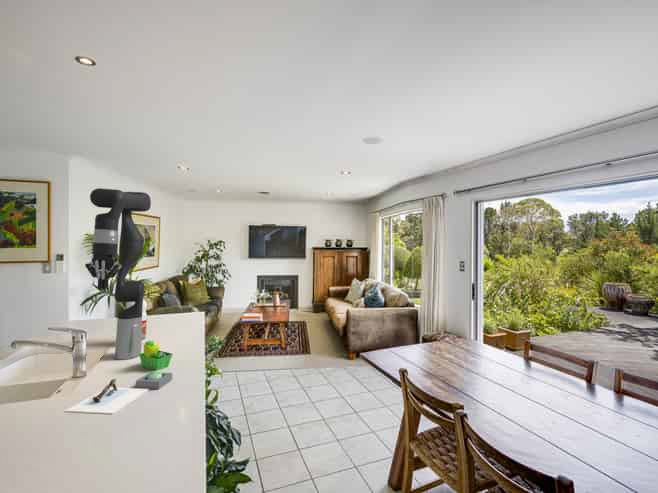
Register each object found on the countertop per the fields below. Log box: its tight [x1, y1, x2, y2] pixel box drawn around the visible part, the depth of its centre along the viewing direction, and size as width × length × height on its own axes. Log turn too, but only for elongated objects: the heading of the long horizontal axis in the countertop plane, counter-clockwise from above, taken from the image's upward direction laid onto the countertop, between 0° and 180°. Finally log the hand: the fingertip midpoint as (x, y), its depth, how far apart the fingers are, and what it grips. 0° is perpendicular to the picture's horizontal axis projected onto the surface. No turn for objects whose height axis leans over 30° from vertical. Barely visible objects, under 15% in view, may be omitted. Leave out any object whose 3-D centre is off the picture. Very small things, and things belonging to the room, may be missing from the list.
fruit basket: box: [138, 340, 174, 372], centre depth 120 cm, size 11×9×11 cm
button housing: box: [135, 371, 173, 390], centre depth 104 cm, size 8×8×2 cm
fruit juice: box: [125, 297, 148, 344], centre depth 151 cm, size 9×9×28 cm
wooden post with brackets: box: [93, 378, 117, 403], centre depth 93 cm, size 2×8×4 cm, turn 176°
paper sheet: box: [64, 387, 150, 415], centre depth 92 cm, size 16×14×1 cm
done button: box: [147, 371, 163, 380], centre depth 104 cm, size 4×4×3 cm
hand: (102, 289), depth 109 cm, fingers closed
